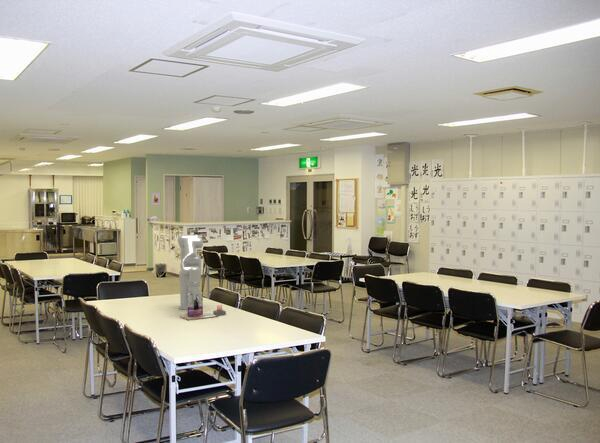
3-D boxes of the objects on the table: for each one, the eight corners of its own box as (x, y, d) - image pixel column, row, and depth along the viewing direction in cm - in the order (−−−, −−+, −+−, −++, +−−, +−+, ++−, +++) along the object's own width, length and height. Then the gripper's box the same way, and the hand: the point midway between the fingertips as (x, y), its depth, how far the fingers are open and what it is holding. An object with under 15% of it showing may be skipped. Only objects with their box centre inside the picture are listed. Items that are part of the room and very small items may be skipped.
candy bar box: (201, 314, 412) (201, 292, 412) (202, 315, 408) (202, 293, 407) (186, 315, 408) (186, 293, 408) (187, 316, 404) (187, 294, 403)
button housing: (213, 314, 420) (213, 310, 420) (221, 313, 424) (221, 309, 424) (217, 316, 414) (217, 312, 414) (225, 315, 418) (225, 311, 418)
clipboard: (179, 317, 409) (179, 316, 409) (210, 313, 423) (209, 312, 423) (187, 320, 397) (187, 319, 397) (218, 317, 410) (218, 315, 410)
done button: (216, 312, 419) (215, 305, 419) (220, 311, 421) (220, 304, 421) (218, 312, 416) (218, 306, 416) (223, 312, 418) (223, 305, 418)
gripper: (185, 283, 412) (185, 307, 413) (194, 286, 398) (194, 311, 399) (194, 282, 417) (194, 306, 417) (203, 285, 402) (204, 310, 403)
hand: (194, 308), depth 408 cm, fingers closed on candy bar box, 5 cm apart
